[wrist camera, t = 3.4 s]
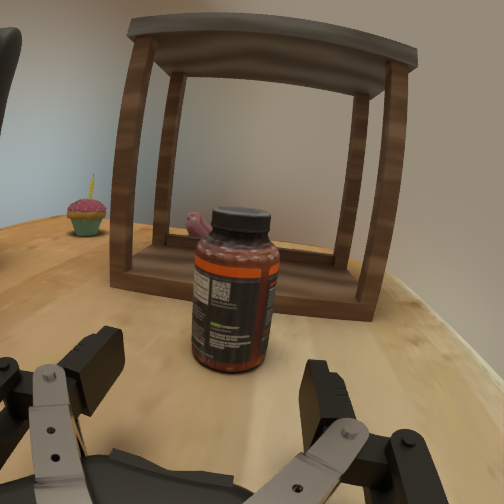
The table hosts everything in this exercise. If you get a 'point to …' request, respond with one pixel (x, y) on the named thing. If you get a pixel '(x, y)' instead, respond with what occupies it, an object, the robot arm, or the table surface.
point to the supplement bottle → (234, 290)
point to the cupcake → (86, 214)
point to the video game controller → (197, 225)
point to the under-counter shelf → (295, 266)
